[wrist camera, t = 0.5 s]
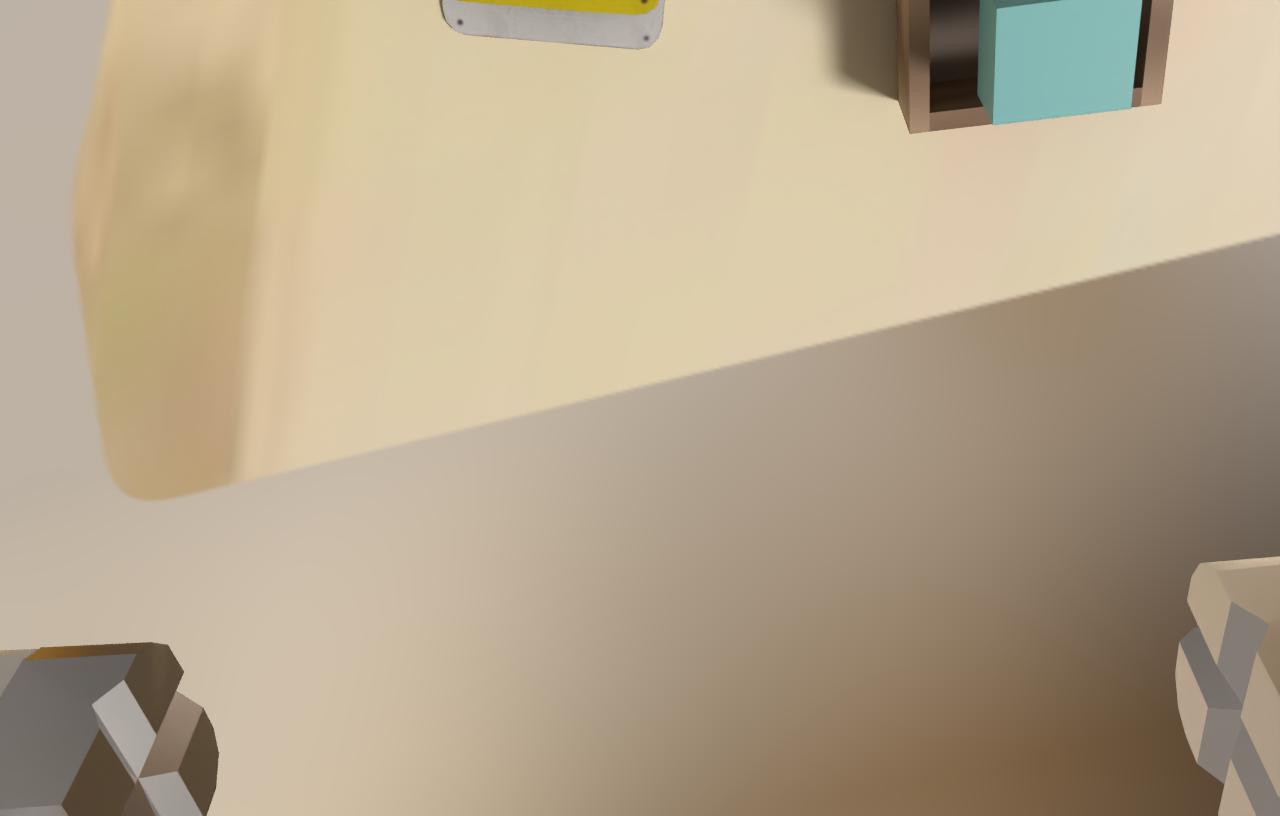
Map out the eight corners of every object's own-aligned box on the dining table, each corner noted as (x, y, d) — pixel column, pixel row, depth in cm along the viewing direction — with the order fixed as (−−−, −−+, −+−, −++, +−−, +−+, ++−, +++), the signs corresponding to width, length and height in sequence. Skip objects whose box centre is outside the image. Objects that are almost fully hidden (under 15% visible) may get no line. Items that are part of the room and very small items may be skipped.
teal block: (975, -26, 45) (996, 8, 42) (1110, -44, 45) (1143, -11, 42) (972, 84, 48) (992, 125, 45) (1101, 68, 47) (1130, 108, 44)
